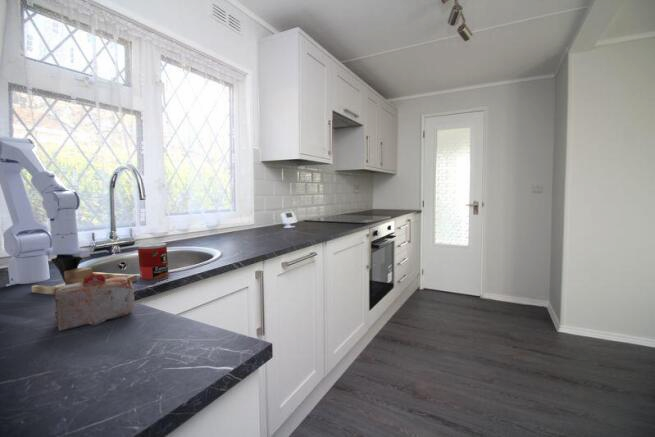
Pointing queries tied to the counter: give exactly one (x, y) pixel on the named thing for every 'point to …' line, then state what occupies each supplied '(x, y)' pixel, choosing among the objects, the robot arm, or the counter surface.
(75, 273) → the beige cube
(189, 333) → the counter surface
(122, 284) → the food item
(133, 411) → the counter surface
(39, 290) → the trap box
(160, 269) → the canned food
